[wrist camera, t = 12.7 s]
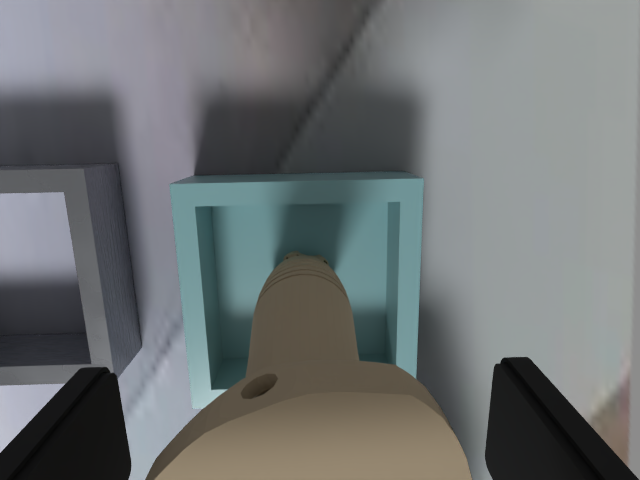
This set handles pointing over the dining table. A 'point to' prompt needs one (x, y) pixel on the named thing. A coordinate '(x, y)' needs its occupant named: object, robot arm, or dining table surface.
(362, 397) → the handle
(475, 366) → the dining table surface
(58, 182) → the collar
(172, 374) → the dining table surface
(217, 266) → the tray
